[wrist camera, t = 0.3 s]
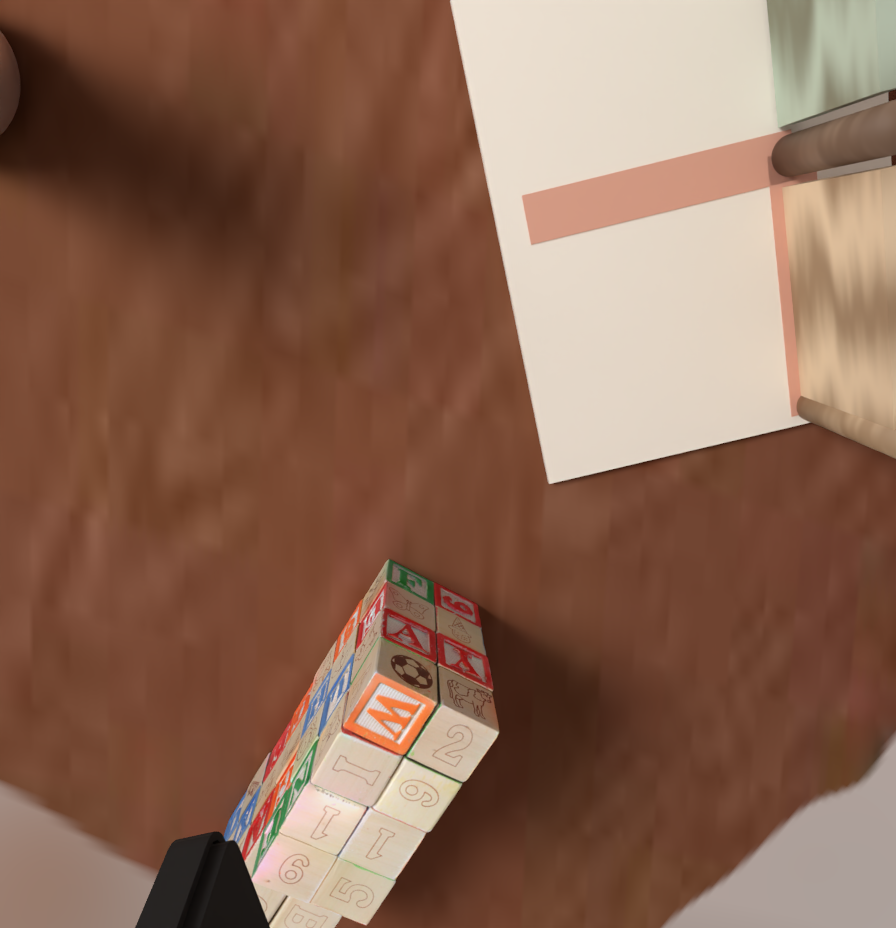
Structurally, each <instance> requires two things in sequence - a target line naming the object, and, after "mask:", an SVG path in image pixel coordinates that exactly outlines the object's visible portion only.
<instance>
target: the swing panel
mask: <svg viewBox="0 0 896 928" xmlns="http://www.w3.org/2000/svg"><path fill="white" fill-rule="evenodd" d="M767 10H768V21H769V32H770V43H771V54H772V66H773V77H774V88H775V99H776V110H777V121H778V128H779V127H783V126H787V125H791V124H795V123H799V122H803V121H806V120H809V119H812V118H815V117H818V116H821V115H823V114H826V113H829V112H832V111H835V110H838V109H841V108H844V107H847V106H849V105H852V104H855V103H858V102H861V101H864V100H867V99H870V98H873V97H876V96H878V95H881V94H884V93H887V92H890V91H893V90H896V0H767Z"/></svg>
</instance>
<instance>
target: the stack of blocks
mask: <svg viewBox="0 0 896 928" xmlns="http://www.w3.org/2000/svg"><path fill="white" fill-rule="evenodd" d="M481 629H482V627H481V621H480V617H479V610H478V605H477V604H476V603H474V602H472V601H470V600H468V599H466V598H464V597H463V596H461V595H459V594H457V593H455V592H453V591H451V590H449V589H447V588H445V587H443V586H441V585H439V584H437V583H435V582H432V581H430V580H428V579H426V578H424V577H422V576H420V575H418V574H416V573H415V572H413V571H411V570H409V569H407V568H405V567H403V566H401V565H399V564H397V563H395V562H394V561H392V560H390V559H388V560H387V562H386V563H385V565H384V567H383V568H382V570H381V571H380V573H379V575H378V576H377V578H376V579H375V581H374V583H373V584H372V586H371V588H370V589H369V591H368V592H367V594H366V596H365V597H364V599H362V600H361V601H360V603H359V604H358V606H357V608H356V609H355V611H354V613H353V614H352V616H351V617H350V619H349V621H348V622H347V624H346V626H345V627H344V629H343V631H342V632H341V634H340V635H339V637H338V639H337V641H336V642H335V644H334V645H333V647H332V648H331V650H330V651H329V653H328V655H327V656H326V658H325V660H324V661H323V663H322V665H321V666H320V668H319V670H318V671H317V673H316V675H315V677H314V681H313V683H312V684H311V686H310V688H309V690H308V691H307V693H306V695H305V696H304V698H303V700H302V701H301V703H300V705H299V706H298V708H297V709H296V711H295V713H294V715H293V718H292V720H291V721H290V723H289V724H288V726H287V727H286V729H285V731H284V732H283V734H282V736H281V738H280V739H279V741H278V743H277V744H276V746H275V747H274V749H273V751H272V752H270V753H269V754H268V755H267V757H266V759H265V760H264V762H263V763H262V765H261V767H260V768H259V770H258V772H257V773H256V775H255V777H254V778H253V780H252V782H251V783H250V785H249V787H248V790H247V791H246V793H245V794H244V796H243V798H242V799H241V801H240V802H239V804H238V806H237V808H236V809H235V811H234V813H233V814H232V816H231V818H230V819H229V822H228V825H227V828H226V831H225V834H224V839H225V841H230V840H234V841H235V842H236V843H237V844H238V846H239V848H240V851H241V854H242V856H243V859H244V861H245V864H246V866H247V869H248V872H249V874H250V877H251V879H252V882H253V885H254V887H255V890H256V892H257V895H258V898H259V900H260V903H261V905H262V908H263V911H264V913H265V916H266V918H267V921H268V924H269V926H270V928H335V926H336V924H337V923H338V922H339V920H340V919H341V917H342V916H344V917H346V918H349V919H351V920H353V921H356V922H358V923H360V924H363V925H367V924H368V923H369V922H370V920H371V919H372V917H373V916H374V914H375V913H376V911H377V910H378V908H379V907H380V905H381V903H382V902H383V900H384V899H385V898H386V896H387V895H388V893H389V892H390V890H391V889H392V887H393V886H394V884H395V882H396V878H397V877H398V876H399V874H400V873H401V872H402V870H403V869H404V867H405V866H406V864H407V863H408V861H409V860H410V858H411V856H412V855H413V853H414V852H415V851H416V849H417V848H418V846H419V845H420V843H421V842H422V840H423V839H424V837H425V835H426V833H427V832H430V831H431V830H432V828H433V827H434V826H435V824H436V823H437V821H438V820H439V818H440V817H441V816H442V814H443V813H444V811H445V810H446V808H447V807H448V805H449V804H450V802H451V801H452V799H453V798H454V797H455V795H456V794H457V792H458V791H459V789H460V788H461V786H462V782H465V781H466V780H468V778H469V777H470V775H471V774H472V772H473V771H474V770H475V768H476V767H477V765H478V764H479V763H480V761H481V760H482V758H483V757H484V755H485V754H486V753H487V751H488V750H489V748H490V747H491V745H492V744H493V743H494V741H495V740H496V738H497V736H498V734H499V726H498V720H497V715H496V710H495V705H494V700H493V695H492V691H493V683H492V678H491V671H490V666H489V662H488V658H487V657H486V651H485V647H484V642H483V636H482V631H481Z"/></svg>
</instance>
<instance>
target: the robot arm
mask: <svg viewBox="0 0 896 928" xmlns="http://www.w3.org/2000/svg"><path fill="white" fill-rule="evenodd" d="M135 928H270V926H269V924H268V921H267V918H266V916H265V913H264V911H263V908H262V905H261V903H260V900H259V898H258V895H257V892H256V890H255V887H254V885H253V882H252V879H251V877H250V874H249V872H248V869H247V866H246V864H245V861H244V859H243V856H242V854H241V851H240V848H239V846H238V844H237V843H236V842H235V841H234V840H230V841H225V839H224V837H223V835H222V834H221V833H220V832H211V833H206V834H201V835H197V836H192V837H187V838H183V839H178V840H175V841H174V842H173V843H172V844H171V846H170V847H169V849H168V851H167V854H166V856H165V858H164V861H163V863H162V865H161V868H160V870H159V873H158V875H157V877H156V880H155V882H154V885H153V887H152V889H151V892H150V894H149V897H148V899H147V901H146V904H145V906H144V908H143V911H142V913H141V915H140V918H139V920H138V923H137V925H136V927H135Z"/></svg>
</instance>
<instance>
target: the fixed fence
mask: <svg viewBox="0 0 896 928" xmlns="http://www.w3.org/2000/svg"><path fill="white" fill-rule="evenodd" d="M893 155H896V99H895V100H892V101H889V102H886V103H883V104H880V105H877V106H874V107H871V108H868V109H865V110H862V111H859V112H855V113H852V114H849V115H846V116H843V117H840V118H837V119H834V120H831V121H828V122H825V123H822V124H819V125H815V126H812V127H809V128H806V129H803V130H800V131H797V132H794V133H791V134H788V135H785V136H784V137H782V138H781V139H780V140H779V141H778V142H777V143H776V144H775V146H774V148H773V151H772V156H771V160H772V165H773V167H774V169H775V170H776V172H777V173H779V174H780V175H782V176H785V177H792V176H797V175H802V174H807V173H812V172H816V171H821V170H826V169H831V168H836V167H840V166H845V165H850V164H855V163H860V162H864V161H869V160H874V159H879V158H884V157H888V156H893ZM782 192H783V203H784V214H785V225H786V236H787V247H788V258H789V270H790V281H791V292H792V303H793V314H794V325H795V336H796V347H797V358H798V369H799V380H800V391H801V396H800V398H799V399H798V402H797V412H798V414H799V416H800V417H801V418H802V419H804V420H806V421H809V422H811V423H813V424H816V425H818V426H820V427H823V428H825V429H827V430H830V431H832V432H835V433H837V434H839V435H842V436H844V437H846V438H849V439H851V440H853V441H856V442H858V443H860V444H863V445H865V446H867V447H870V448H872V449H874V450H877V451H879V452H881V453H884V454H886V455H888V456H891V457H893V458H895V459H896V165H892V166H887V167H882V168H876V169H871V170H866V171H860V172H855V173H850V174H844V175H839V176H834V177H829V178H823V179H818V180H813V181H807V182H803V183H799V184H795V185H790V186H786V187H782Z"/></svg>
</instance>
